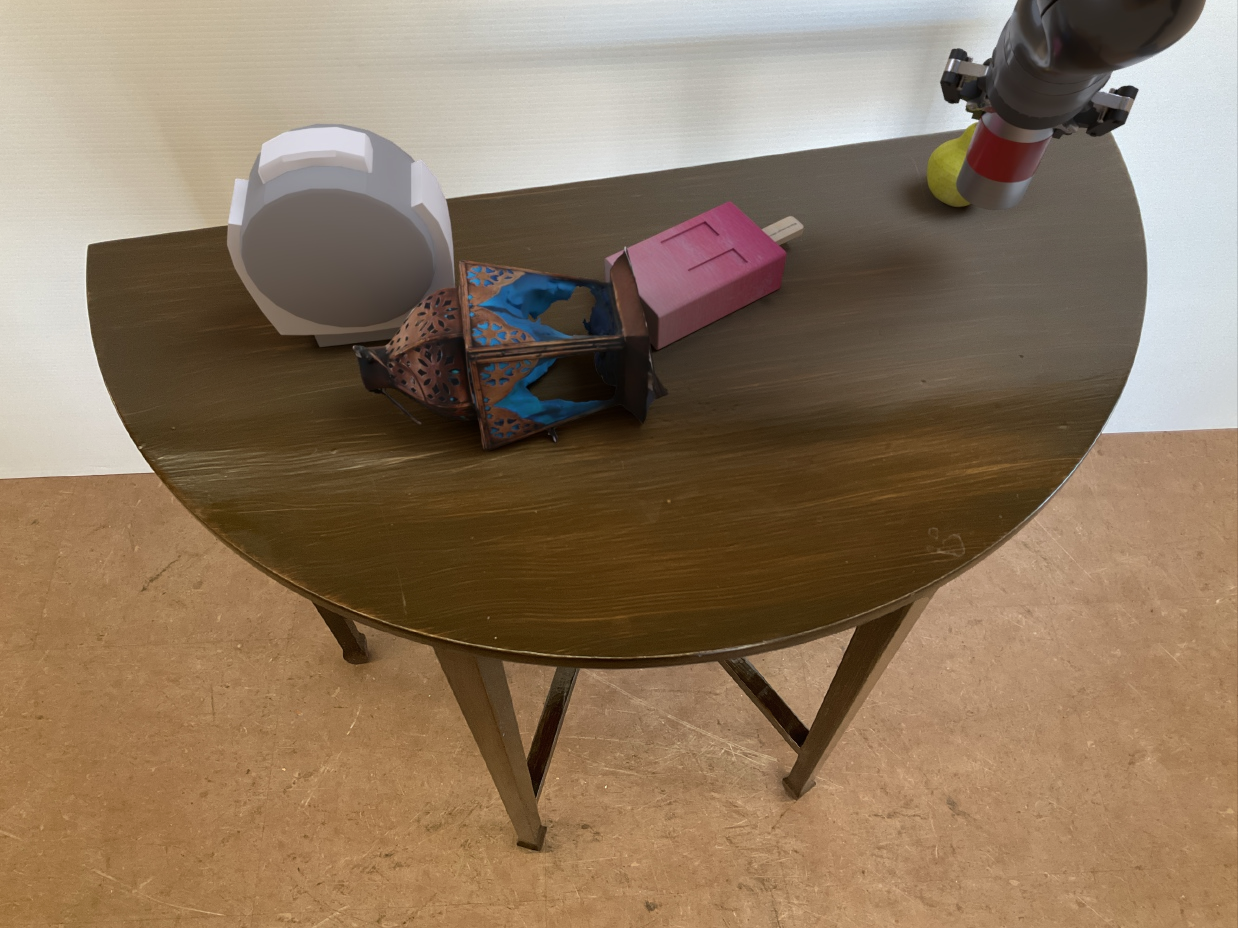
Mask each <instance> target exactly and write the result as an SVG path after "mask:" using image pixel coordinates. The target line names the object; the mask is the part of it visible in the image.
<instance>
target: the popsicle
mask: <svg viewBox="0 0 1238 928" xmlns="http://www.w3.org/2000/svg"><path fill="white" fill-rule="evenodd" d="M803 232H804V224H802V223H801V222H800V221H799V220H798V219H797V218H796V217H794V216H792V215H788V216H787V217H784V218H782V219H780V220H777V221H776V222H774V223H772V224H770V225H768V226H766V227H764V228H761V227H760V226H758V225H757V223H755V222H754V221H753V220H752V219H751V218H750V217H749V216H748V215H746V213H744V212H743V211H742V210H741V209H740V208H739V207H738V206H737V205H735V203H733V201H730V200H729V201H727V202H724V203H722V204H720V205H718V206H715V207H713V208H711V209H709V210H707V211H704V212H703V213H701V214H698V215H696V216H694V217H692V218H689V219H688V220H685V221H683V222H682V223H678V224H677V225H674V226H673V227H670V228H668V229H666V230H663V231H661V232H659V233H657V234H655V235H653V236H650V237H648V238H646V239H644V240H642V241H639V242H637V243H635V244H633V245H631V246H629V247H627V250H628V254H629V258H630V262H631V264H632V267H633V270H634V275H635V279H636V283H637V287H638V292H639V296H640V301H641V305H642V308H643V312H644V316H645V319H646V323H647V328H648V333H649V336H650V345H651V346H652V347H653V348H654V349H655V350H657V351H658V350H661V349H663V348H664V347H667V346H668V345H670V344H672V343H675V342H676V341H679V340H681V339H682V338H684V337H686V336H689V335H690V334H693V333H694V332H696V331H699V330H701V329H702V328H704V327H706V326H708V325H710V324H712V323H714V322H716V321H718V320H719V319H720V320H721V319H722V318H724V317H726V316H728V315H730V314H732V313H734V312H736V311H737V310H740V309H742V308H744V307H746V306H748V305H749V304H752V303H754V302H755V301H758V300H759V299H761V298H764V297H765V296H767V295H769V294H772V293H773V292H775V291H777V290H780V289H781V286H782V281H783V277H784V276H783V275H784V271H785V266H786V260H787V257H788V255H787V252H786V250H785V249H784V248H783V247H782V246H781V245H783V244H786V243H787V242H789V241H792V240H793V239H796V238H798V237H800V236H802V235H803ZM623 251H625V250H624V249H622V250H620V251H617V252H616V253H614V254H611V255H609V256H607V257H605V258H604V280H605V281H604V282H609V281H610V268H611V267H612V266H613V264H614V262H615V261H616V259H617V258H618V257H619V256H620V255H622V254H623Z"/></svg>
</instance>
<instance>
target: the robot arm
mask: <svg viewBox="0 0 1238 928" xmlns="http://www.w3.org/2000/svg"><path fill="white" fill-rule="evenodd" d="M1206 2H1207V0H1016V3H1015V5H1014V8H1013V11H1012V13H1011V15H1010V17H1009V18H1008V19H1007V21H1006V22H1005V24H1004V26H1003V28H1002V30H1001V31H1000V34H999V37H998V38H997V39H998V40H997V42H996V44H995V46H994V48H993V50H992V54H991V57H989V58H987V59H986V60H984V61H983V63H975V62H973V61H974V57H973V56H968V55H969V54H968V51H966V50H964V49H963V48H960V47H958V48H952V49H951V50H950V53H949V56H948V57H947V61H946V64H945V66H944V69H943V72H942V75H941V78H940V81H939V84H940V88H941V92H942V96H943V100H944V101H945V102H947V103H948V104H951V105H955V104H959V103H960V101H965V102H966V104H965V112H967V113H969V114H972V115H971V117H970V119H972V120H976V121H979V118H980V117H981V114H982V112H983V111H985V112H988V113H991V114H992V113H997V114H998V115H999V116H1000V117H1001V118H1002V119H1003V120H1004V121H1006V122H1007V123H1009V124H1011V125H1013V126H1015V127H1018V128H1021V129H1026V130H1042V129H1048V128H1056V129H1055V132H1054V135H1053V137H1052V139H1056V140H1060V139H1061V138H1062V137H1063V136H1072V135H1073V134H1075V133H1077V132H1078V130H1079V129H1086V131H1085V134H1086V135H1088V136H1089V137H1092V138H1097V137H1103V136H1105V135H1106V134H1108V133H1111V132H1113V131H1115V130H1117V129H1118V128H1120V127H1122V126H1124V125H1125V124H1126V122H1127V120H1128V118H1129V115H1130V113H1131V111H1132V107H1133V106H1134V103H1135V101H1136V98H1137V95H1138V94H1139V91H1140V89H1139V88H1138V87H1135V86H1134V85H1130V84H1129V85H1121V86H1120V87H1118V88H1116V87H1111V88H1109V91H1104V90H1102V89H1104V87H1105V86H1106V85H1107V84H1108V83H1109V80H1110V79H1111V76H1112V74H1113V72H1115V71H1119V70H1122V69H1126V68H1129V67H1131V66H1135V65H1138V64H1140V63H1143V62H1145V61H1147V60H1149V59H1151V58H1153V57H1155V56H1157V55H1160V54H1161V53H1162V52H1164V51H1166V50H1168V49H1169V48H1170V47H1171V48H1172V46H1174V45H1175V44H1176V43H1177V42H1179V41H1180V40H1181V39H1182V38H1184V37H1185V36H1186V35H1187V34H1188V33H1189V32H1190V31H1191V30H1192V29H1193V27H1194V26H1195V25H1196V24H1197V22H1198V21H1199V19H1200V17H1201V15H1202V13H1203V11H1204V8H1205V5H1206Z"/></svg>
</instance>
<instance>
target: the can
mask: <svg viewBox="0 0 1238 928" xmlns="http://www.w3.org/2000/svg"><path fill="white" fill-rule="evenodd" d="M977 122H978V123H977V126H976V129H975V131H974V134H973V137H972V139H971V142H970V145H969V147H968V150H967V153H966V157H965V159H964V162H963V165H962V167H961V170H960V173H959V175H958V178H957V181H956V187H957V190H958V192H959V194H960V195H961V196H962V197H963V198H964V199H965V200H966V201H968V202H969V203H971V204H970V205H973V206H975V207H978V208H980V209H984V210H990V211H1005V210H1010V209H1012V208H1014V207H1016V206H1018V205H1019V204H1020V203H1021V202H1022V201H1023V199H1024V197H1025V195H1026V193H1027V191H1028V189H1029V186H1030V184H1031V182H1032V180H1033V178H1034V176H1035V174H1036V172H1037V171H1038V169H1039V167H1040V165H1041V162H1042V160H1043V158H1044V156H1045V153H1046V152H1047V149H1048V147H1049V145H1050V143H1051V141H1052V139H1053V138H1052V137H1053V135H1054V132H1055V129H1056V128H1048V129H1042V130H1026V129H1021V128H1018V127H1015V126H1013V125H1011V124H1009V123H1007V122H1006V121H1004V120H1003V119H1002V118H1001V117H1000V116H999V115H998V114H997V113H992V114H991V113H988V112H985V111H983V112H982V114H981V117H980V118H979V120H977Z"/></svg>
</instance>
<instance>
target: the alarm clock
mask: <svg viewBox="0 0 1238 928" xmlns="http://www.w3.org/2000/svg"><path fill="white" fill-rule="evenodd" d="M260 149H261V150H260V151H259V153H258V154H257V155H256V158H255V160H254V163H253V164H252V167H251V169H250V172H249V175H248V179H243V178H239V177H238V178H235V180H234V187H233V192H232V197H231V203H230V210H229V214H228V215H229V216H228V221H227V234H226V246H227V249H228V253H229V255H230V259H231V262H232V265H233V267H234V269H235V271H236V273H237V275H238V277H239V278H240V280H241V282H242V284H243V285H244V287H245V288H246V290H247V292H248V293H249V295H250V296H251V298H252V300H254V301H255V304H256V305H257V306H258V308H259V310H260V311H261V312H262V314H263V315H264V316H265V317H266V318H267V320H268V321H269V322H270V324H271V325H272V326H273V327H274V328H275V330H276V331H277V332H278V334H280V335H281V336H314V338H315V340H316V342H317V344H318V346H319V348H324V347H331V346H332V347H333V346H341V345H342V346H343V345H351V344H357V343H358V344H359V343H367V342H375V341H386V340H392V339H393V337H394V336H395V335H396V333H397V332H398V330H399V329H400V327H401V326H402V324H403V322H404V320H405V319H406V318H407V317H408V316H409V314H410V313H411V311H412V310H413V309H414V308H415V307H416V306H417V305H418V304H419V303H420V302H422V301H423V300H424V299H425V298H426V297H427V296H429V295H431V294H433V293H434V292H436V291H438V290H440V289H444V288H451V287H456V280H455V279H456V278H455V277H456V276H455V259H454V258H455V257H454V242H453V233H452V224H451V218H450V211H449V207H448V203H447V202H448V201H447V199H446V197H445V194H444V192H443V189H442V187H441V184H440V181H439V179H438V177H437V176H436V175H435V174H434V173H433V171H432V170H431V169H430V167H428V165H427V164H426V163H425V162H424V160H423V159H422V158H420V159H418V160H415V159H414V158H413V157H412V156H411V155H410V154H409V153H407V152H406V151H405V150H404V149H403V148H401V147H400V146H399V145H398V144H396V143H394V141H392V140H390V139H388V138H386V137H384V136H382V135H380V134H377V133H375V132H373V131H371V130H368V129H365V128H361V127H356V126H352V125H347V124H344V123H313V124H309V125H305V126H301V127H296V128H292V129H290V130H288V131H284V132H282V133H280V134H279V135H276V136H275V137H273V138H271V139H269V140H267V141H265V142H263V143H262V144H261V148H260Z"/></svg>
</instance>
